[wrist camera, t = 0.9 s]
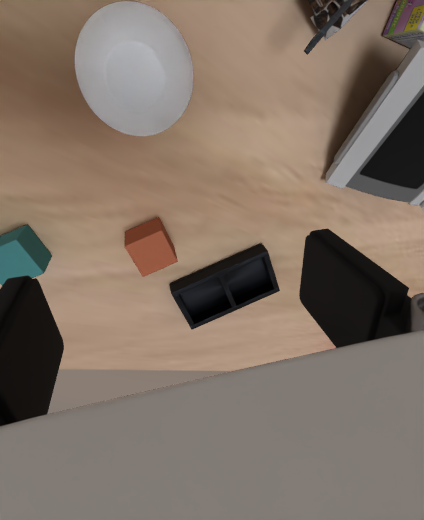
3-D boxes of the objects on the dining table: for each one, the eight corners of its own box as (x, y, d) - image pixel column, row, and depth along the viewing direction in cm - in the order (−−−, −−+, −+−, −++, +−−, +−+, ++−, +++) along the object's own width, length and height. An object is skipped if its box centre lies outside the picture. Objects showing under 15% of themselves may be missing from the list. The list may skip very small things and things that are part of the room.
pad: (-10, 240, 38) (-26, 257, 34) (27, 224, 38) (16, 239, 34) (17, 270, 41) (5, 289, 37) (52, 255, 41) (44, 273, 37)
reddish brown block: (125, 231, 41) (124, 246, 38) (159, 216, 41) (161, 230, 38) (142, 260, 44) (143, 277, 40) (174, 246, 44) (177, 261, 40)
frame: (169, 283, 47) (171, 293, 45) (261, 242, 47) (267, 250, 45) (189, 319, 51) (191, 329, 49) (273, 282, 51) (279, 290, 49)
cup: (126, 138, 36) (123, 159, 26) (71, 57, 31) (42, 43, 21) (192, 96, 35) (216, 100, 25) (146, 6, 31) (153, -33, 20)
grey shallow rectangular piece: (428, 209, 45) (328, 197, 41) (415, 186, 47) (319, 173, 44) (565, 94, 31) (430, 60, 27) (536, 70, 33) (409, 37, 30)
